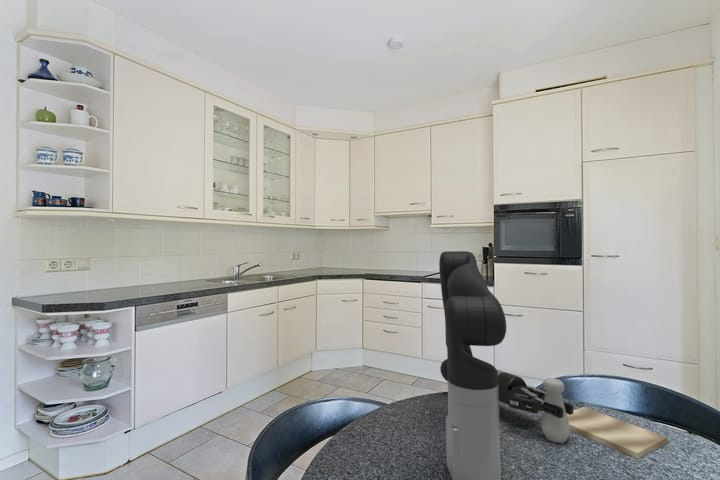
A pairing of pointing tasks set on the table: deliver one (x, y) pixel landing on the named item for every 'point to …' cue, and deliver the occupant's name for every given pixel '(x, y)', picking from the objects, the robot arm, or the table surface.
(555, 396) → the salt shaker
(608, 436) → the birch board
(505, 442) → the table surface
